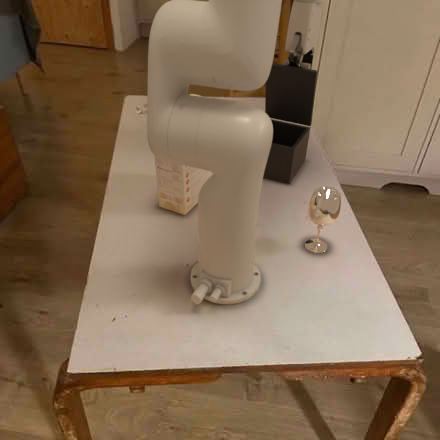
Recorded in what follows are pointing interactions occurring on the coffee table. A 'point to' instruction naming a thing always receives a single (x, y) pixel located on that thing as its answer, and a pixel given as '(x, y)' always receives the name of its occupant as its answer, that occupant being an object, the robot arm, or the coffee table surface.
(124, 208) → the coffee table surface
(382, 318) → the coffee table surface
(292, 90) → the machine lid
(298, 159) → the trash bin
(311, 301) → the coffee table surface
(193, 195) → the coffeecake box
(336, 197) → the wineglass
